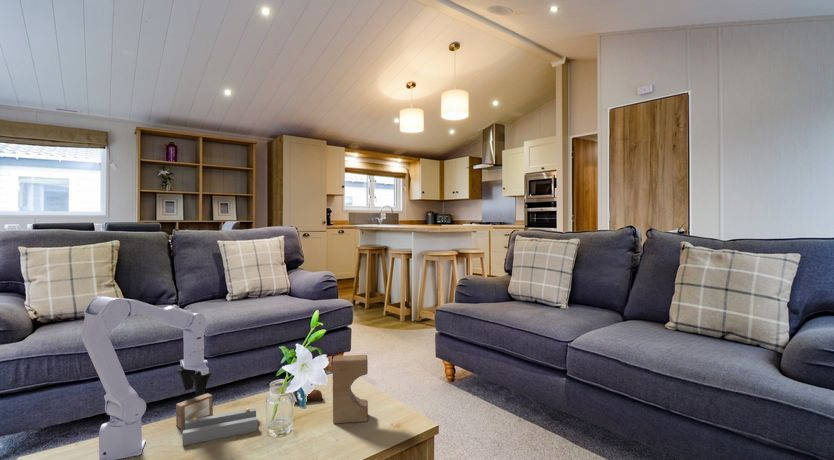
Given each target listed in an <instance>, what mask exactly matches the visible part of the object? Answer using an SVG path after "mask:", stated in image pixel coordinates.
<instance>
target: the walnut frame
mask: <svg viewBox="0 0 834 460" xmlns="http://www.w3.org/2000/svg"><path fill="white" fill-rule="evenodd" d="M213 403H214V401H213V395H212V394H211V393H208V392H207V393H204V394H203V395H200V396H196V397H192V398H190V399H185V400H184V401H181V402H178V403H175V421H176V422H175V423H176V425H175V426H176V427H178V428H179V429H185V421H186V420H191V419H192V418H195V417H196V418H202V417H208V416H213V415H214V413H213V410H214V409H213V407H214V406H213Z"/></svg>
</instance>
